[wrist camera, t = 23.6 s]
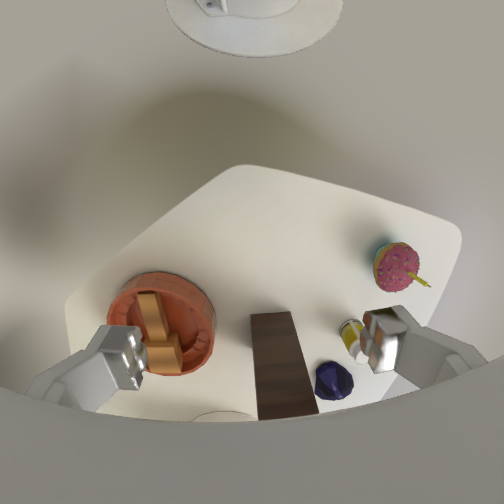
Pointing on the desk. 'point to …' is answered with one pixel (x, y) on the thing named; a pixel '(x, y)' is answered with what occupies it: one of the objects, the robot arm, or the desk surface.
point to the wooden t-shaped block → (159, 335)
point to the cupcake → (396, 267)
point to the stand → (280, 369)
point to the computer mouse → (333, 382)
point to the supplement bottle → (353, 340)
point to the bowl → (171, 315)
